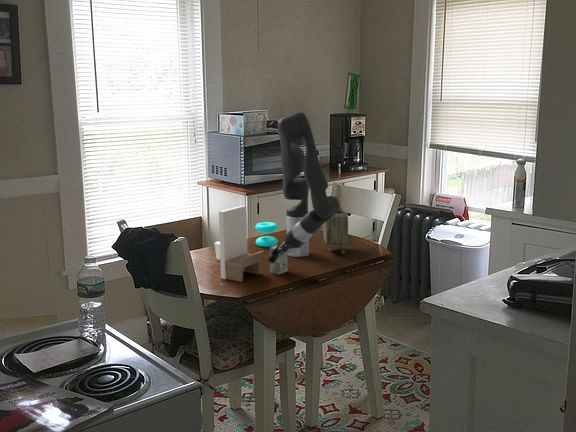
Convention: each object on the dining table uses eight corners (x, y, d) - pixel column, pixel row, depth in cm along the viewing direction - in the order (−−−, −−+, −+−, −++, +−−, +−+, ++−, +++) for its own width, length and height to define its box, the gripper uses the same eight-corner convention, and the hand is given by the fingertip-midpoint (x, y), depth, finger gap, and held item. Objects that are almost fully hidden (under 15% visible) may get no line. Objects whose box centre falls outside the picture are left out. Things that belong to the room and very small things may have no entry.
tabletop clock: (347, 255, 271) (348, 198, 266) (326, 256, 270) (327, 198, 265) (342, 246, 285) (343, 192, 280) (322, 247, 284) (323, 192, 279)
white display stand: (264, 273, 246) (263, 208, 241) (241, 282, 235) (240, 214, 229) (243, 269, 251) (242, 205, 246) (221, 278, 240) (218, 211, 235)
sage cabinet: (289, 271, 249) (289, 246, 246) (281, 274, 244) (281, 249, 242) (278, 269, 252) (277, 244, 250) (269, 272, 247) (269, 247, 245)
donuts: (271, 220, 294) (281, 224, 285) (271, 241, 296) (281, 246, 287) (251, 223, 289) (261, 227, 281) (252, 244, 291) (262, 248, 283)
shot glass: (224, 261, 263) (224, 245, 262) (211, 259, 267) (211, 243, 265) (234, 257, 269) (234, 241, 267) (221, 255, 272) (221, 239, 271)
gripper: (304, 222, 246) (279, 248, 255) (283, 229, 234) (258, 256, 243) (316, 237, 244) (290, 262, 253) (295, 245, 232) (269, 271, 241)
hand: (274, 259), depth 248 cm, fingers closed on sage cabinet, 5 cm apart
